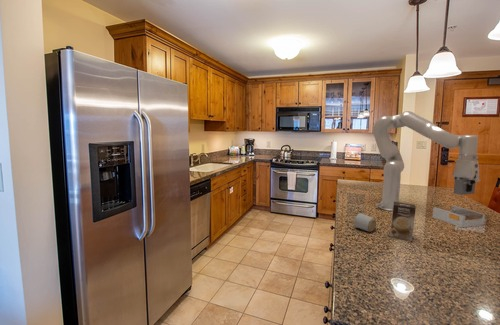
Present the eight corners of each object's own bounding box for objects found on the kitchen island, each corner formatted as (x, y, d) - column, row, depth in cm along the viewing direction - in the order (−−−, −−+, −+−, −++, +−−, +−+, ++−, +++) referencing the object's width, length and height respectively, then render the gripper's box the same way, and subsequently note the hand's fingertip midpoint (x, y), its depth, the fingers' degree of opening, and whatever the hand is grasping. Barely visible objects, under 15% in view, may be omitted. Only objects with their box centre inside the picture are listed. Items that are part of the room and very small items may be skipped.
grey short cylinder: (368, 234, 126) (369, 219, 125) (353, 228, 133) (354, 214, 132) (379, 229, 133) (381, 215, 132) (364, 224, 139) (365, 211, 138)
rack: (461, 227, 137) (462, 216, 136) (432, 217, 152) (433, 207, 152) (483, 224, 141) (485, 214, 140) (452, 215, 157) (453, 205, 156)
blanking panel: (461, 194, 140) (462, 180, 139) (453, 193, 144) (454, 179, 143) (474, 193, 143) (475, 179, 142) (466, 191, 147) (467, 178, 146)
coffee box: (389, 237, 123) (392, 204, 121) (390, 232, 129) (393, 201, 127) (412, 241, 119) (415, 207, 116) (412, 236, 124) (415, 204, 122)
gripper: (489, 158, 134) (486, 193, 136) (456, 156, 150) (453, 187, 152) (479, 159, 132) (476, 194, 134) (446, 156, 148) (443, 188, 150)
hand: (464, 190), depth 143 cm, fingers closed on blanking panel, 4 cm apart
